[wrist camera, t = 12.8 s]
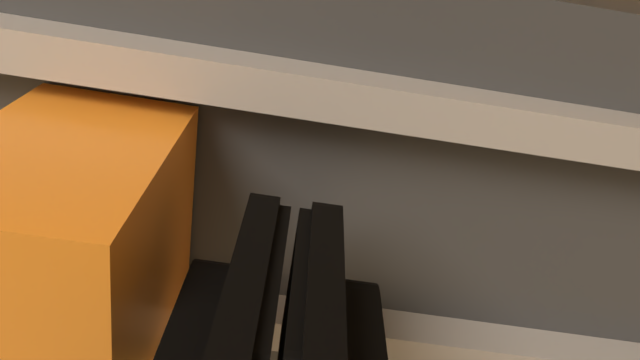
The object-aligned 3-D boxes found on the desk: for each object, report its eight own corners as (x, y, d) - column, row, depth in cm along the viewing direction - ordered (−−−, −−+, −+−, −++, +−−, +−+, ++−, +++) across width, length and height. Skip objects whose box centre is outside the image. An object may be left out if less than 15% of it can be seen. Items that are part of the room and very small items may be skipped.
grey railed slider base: (1016, 63, 14) (1332, 137, 10) (805, 350, 19) (954, 490, 14) (-187, -143, 13) (-472, -167, 8) (-105, 227, 17) (-258, 342, 13)
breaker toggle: (198, 106, 11) (109, 245, 6) (188, 270, 13) (113, 467, 8) (43, 83, 11) (-158, 209, 6) (55, 253, 12) (-94, 444, 8)
